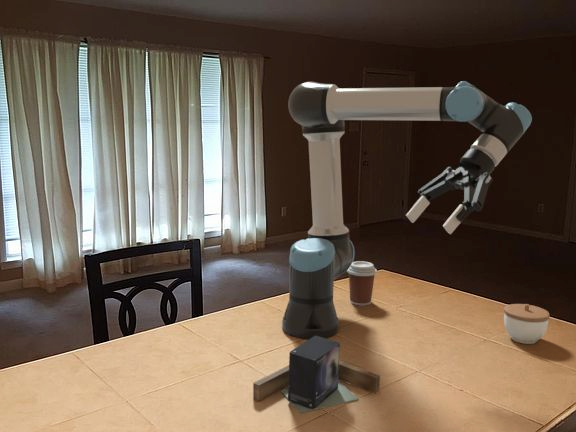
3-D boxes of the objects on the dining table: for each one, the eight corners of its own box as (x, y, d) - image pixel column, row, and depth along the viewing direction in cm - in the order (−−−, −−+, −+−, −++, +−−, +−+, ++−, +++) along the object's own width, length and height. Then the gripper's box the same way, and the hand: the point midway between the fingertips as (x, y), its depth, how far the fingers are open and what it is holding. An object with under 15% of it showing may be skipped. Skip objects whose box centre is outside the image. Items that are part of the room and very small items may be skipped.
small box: (315, 411, 106) (316, 360, 104) (286, 401, 110) (287, 351, 108) (340, 388, 115) (341, 341, 113) (312, 380, 119) (313, 334, 117)
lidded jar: (509, 328, 150) (512, 295, 149) (551, 338, 144) (555, 304, 142) (495, 339, 142) (498, 305, 141) (539, 351, 136) (543, 315, 134)
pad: (281, 391, 114) (281, 390, 114) (336, 380, 119) (336, 379, 119) (299, 413, 106) (299, 411, 106) (358, 400, 111) (358, 398, 111)
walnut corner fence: (253, 399, 111) (253, 382, 110) (315, 366, 126) (315, 351, 125) (320, 431, 100) (320, 413, 100) (379, 391, 115) (380, 375, 114)
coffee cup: (362, 309, 163) (364, 270, 161) (339, 301, 170) (340, 263, 168) (381, 302, 169) (383, 264, 167) (358, 295, 176) (360, 258, 174)
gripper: (531, 174, 122) (473, 246, 119) (454, 164, 144) (404, 224, 141) (515, 150, 119) (455, 223, 115) (439, 144, 141) (387, 205, 138)
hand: (427, 224), depth 128 cm, fingers open, 13 cm apart
